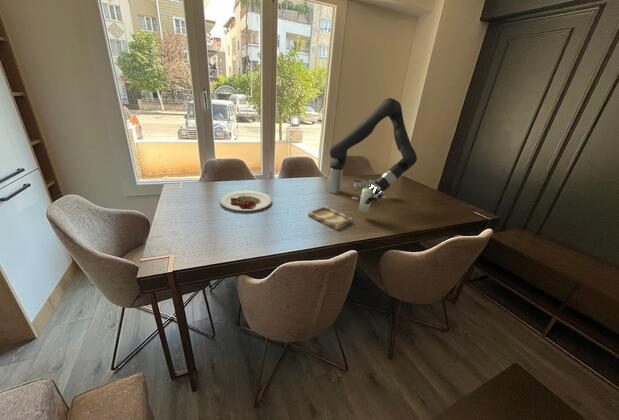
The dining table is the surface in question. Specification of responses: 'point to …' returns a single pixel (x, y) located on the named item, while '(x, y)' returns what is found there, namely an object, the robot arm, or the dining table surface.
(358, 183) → the goblet set
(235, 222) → the dining table surface
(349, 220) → the tray
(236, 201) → the plated food
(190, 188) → the dining table surface
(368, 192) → the sage domed cylinder
